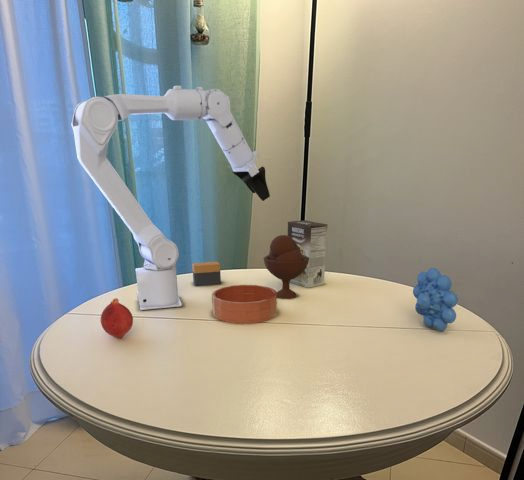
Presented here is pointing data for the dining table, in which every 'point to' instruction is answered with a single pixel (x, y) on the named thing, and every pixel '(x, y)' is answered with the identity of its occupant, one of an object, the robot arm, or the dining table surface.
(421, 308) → the grapes
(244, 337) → the dining table surface
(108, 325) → the onion
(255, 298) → the bowl
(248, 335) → the dining table surface
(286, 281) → the ice cream bowl
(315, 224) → the coffee box
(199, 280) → the eraser
